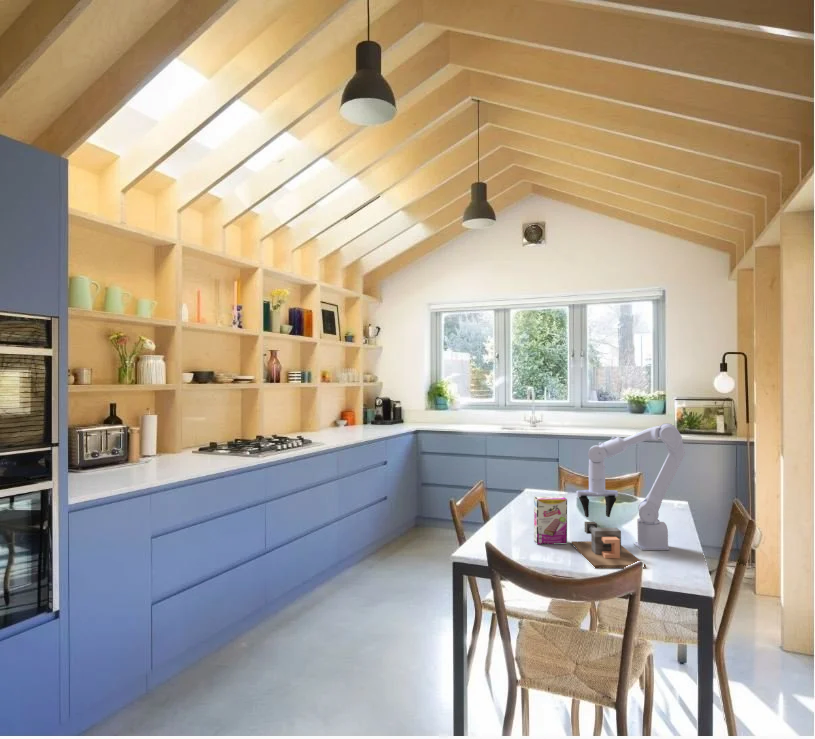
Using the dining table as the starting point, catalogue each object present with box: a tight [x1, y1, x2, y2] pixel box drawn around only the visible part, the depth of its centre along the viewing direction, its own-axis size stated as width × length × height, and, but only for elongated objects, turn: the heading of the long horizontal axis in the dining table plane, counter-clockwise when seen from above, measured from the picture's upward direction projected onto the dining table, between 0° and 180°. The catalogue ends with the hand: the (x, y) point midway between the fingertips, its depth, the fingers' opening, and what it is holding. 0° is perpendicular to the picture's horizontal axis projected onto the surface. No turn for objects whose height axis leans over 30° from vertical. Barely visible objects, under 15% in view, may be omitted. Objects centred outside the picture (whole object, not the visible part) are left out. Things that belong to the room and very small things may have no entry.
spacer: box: [601, 537, 620, 558], centre depth 189 cm, size 6×4×5 cm
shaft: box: [584, 521, 604, 543], centre depth 203 cm, size 4×17×4 cm, turn 0°
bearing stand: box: [571, 527, 647, 569], centre depth 193 cm, size 16×26×9 cm, turn 0°
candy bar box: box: [533, 496, 568, 545], centre depth 208 cm, size 11×5×16 cm, turn 92°
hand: (597, 516), depth 208 cm, fingers open, 7 cm apart
